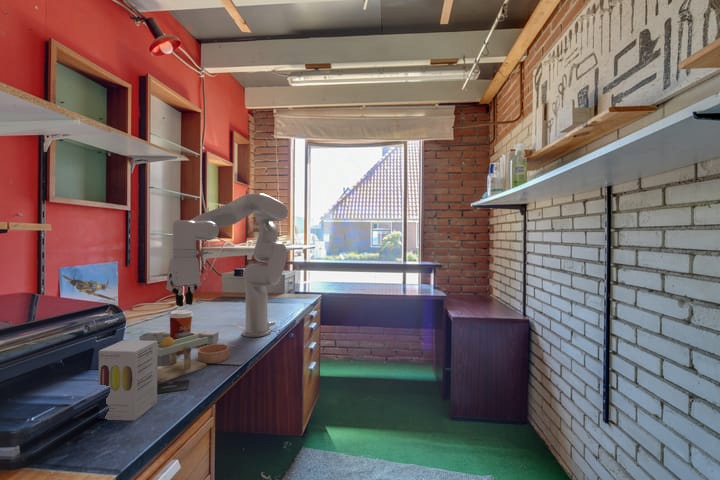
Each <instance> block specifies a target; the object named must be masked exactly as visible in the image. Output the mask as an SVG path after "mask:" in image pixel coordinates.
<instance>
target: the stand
mask: <svg viewBox="0 0 720 480" xmlns="http://www.w3.org/2000/svg"><path fill="white" fill-rule="evenodd" d="M191 352H192V348H191V347H185V348H184V353H183V358H181V359H179V360H177V354H176V352H174V353H170V364H169V365H166V366H159V365H157V382H160V383H165V382H166V381H170V380H172V379H175V378H178V377H181V376H184V375H187V374H191V373H192V372H196V371H198V370H199V371H200V370H201V369H204V368H207V366H208V365H207V364H208V363H202V362H199V361H198V360H196V359H194V358H191V356H192V354H191Z"/></svg>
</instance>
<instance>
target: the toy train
mask: <svg viewBox="0 0 720 480" xmlns="http://www.w3.org/2000/svg"><path fill="white" fill-rule="evenodd" d="M190 332H191V333H194V335H196V334H198V338H204V337H208V343H206V344H202V345H201V346H206V345H211V344H218V342H219V331H206V330H202V331H198V330H197V331H196V330H195V331H194V330H191V331H190ZM166 337H170V330H169V329H164V330H161V329H160V330H159V329H155V330H150V331H147V332H144V333H143V334H141V335H139V340H142V341H158V344H160V343H162V340H163V339H164V338H166Z"/></svg>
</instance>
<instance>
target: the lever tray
mask: <svg viewBox="0 0 720 480" xmlns="http://www.w3.org/2000/svg"><path fill="white" fill-rule="evenodd" d="M175 337H177V338H180V339H176V340H174V345H173V346H170V347H166V348H163V347H162V344H161V343H160V344H158V356H157V366H166V365H169V364H170V353H174V352H178V351H181V350H184V348H185V347H191V349H192V348H195V347H198V346H203V345H202V344H206V343H208V337H204V338H198V334H196V335H194V333H191V332H187V331H186V332H182V333H178V334H175Z"/></svg>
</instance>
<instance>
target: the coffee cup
mask: <svg viewBox="0 0 720 480" xmlns="http://www.w3.org/2000/svg"><path fill="white" fill-rule="evenodd" d="M193 316H194V314H193V311H192V310H190V309H189V310H188V309H179V310H178V309H177V310H173V311H171V312H170V313H169V315H168V318H169V331H170V337H171V338H173V339H174V340H176V339H180V338H177V337H175V334H178V333H182V332H186V331H187V332H190V331H192V330H191V329H192V318H193ZM179 354H180V355H181V354H184V350H181V351H178V352H176V355H179Z"/></svg>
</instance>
